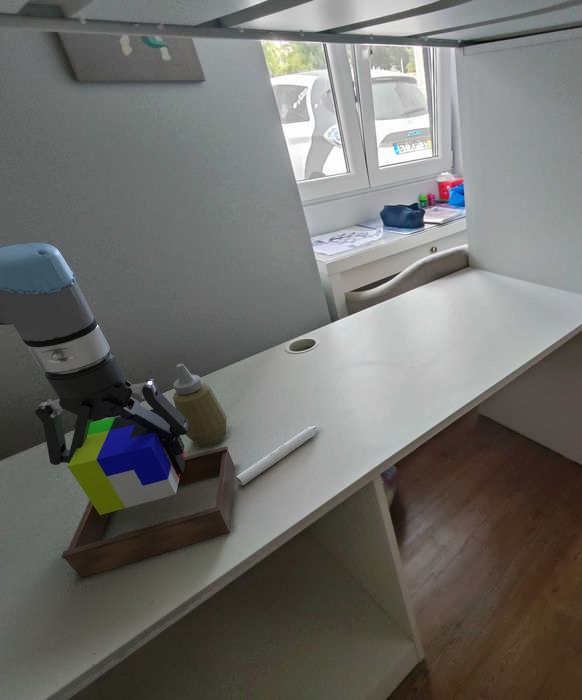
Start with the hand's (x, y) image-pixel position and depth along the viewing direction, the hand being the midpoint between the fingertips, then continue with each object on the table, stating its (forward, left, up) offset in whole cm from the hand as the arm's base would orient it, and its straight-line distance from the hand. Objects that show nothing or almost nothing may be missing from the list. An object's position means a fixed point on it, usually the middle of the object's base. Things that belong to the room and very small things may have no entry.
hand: (143, 478), depth 71 cm
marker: (+19, +7, -9) cm, 23 cm away
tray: (0, 0, -9) cm, 9 cm away
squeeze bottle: (+5, +19, -9) cm, 22 cm away
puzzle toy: (0, 0, -1) cm, 1 cm away
